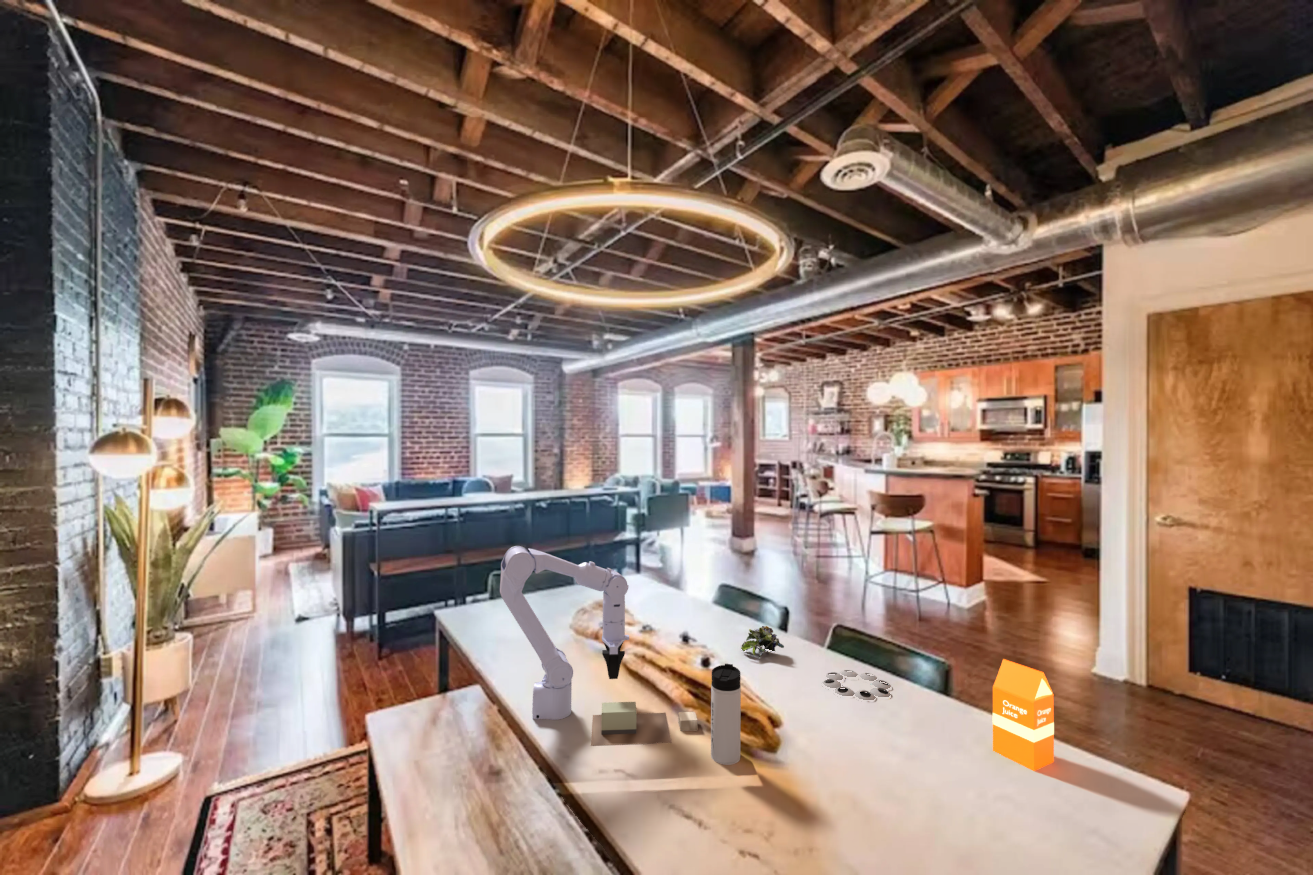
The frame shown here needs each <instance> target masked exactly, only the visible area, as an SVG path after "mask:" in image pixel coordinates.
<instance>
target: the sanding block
mask: <svg viewBox="0 0 1313 875" xmlns="http://www.w3.org/2000/svg"><path fill="white" fill-rule="evenodd" d="M636 714H637V702H636V701H615V702H614V701H612V702H610V701H609V702H601V715H602V728H601V735H608V734H636Z"/></svg>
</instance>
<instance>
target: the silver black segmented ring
mask: <svg viewBox="0 0 1313 875" xmlns="http://www.w3.org/2000/svg"><path fill="white" fill-rule="evenodd" d="M847 671H852V672H847ZM840 673H841V674H842V675H844V676H847V677H856V676H857V675H859V676H860V677H861V678H862V679H864V680H869V681H874V680H876V679H877V678H878V677H877V676H876V675H874V674H873V675H874V676H870V675H867V674H870V672H868V673H867V672H863V673H861V674H858V673H857V672H856V671H854V670H850V669H849V670H848V669H844V670H842V671H841V672H835V671H834V672H828V673H826V674H825V675H826V677H827V678H829V679H827V680H825V679H824V680H823V681H822V683H823V684H824V685H825V686H827V687H830V688H836V689H835V693H837V694H839V695H842V696H853V695H854V694H855V696H856V697H858V698H859V699H863V700H874V699H875V698H876V697H875V696H878V697H889V696H890V695H892V693H891V691H887V690H886V689H888V688H890V687H891V686H892V684H890V683H889V682H887V681H885V680H882V679H879V680H876V681H874V682H873V683H872V685H874V686H875V687H877V688H872V689H870V690H865V689H861V690H858V691H856V692H855V691H854V690H853V689H852V688H850V687H848V686H843V687H841V684H842V683H840V682H838V681H837V680H842V679H843V676H842V675H840ZM829 674H835V675H829ZM825 681H831V682H825ZM833 681H834V682H833ZM880 681H881V682H885V683H887V684H889V685H887V684H883V683H880ZM839 688H845V689H848V690H846V692H840V691H839V690H840V689H839ZM877 689H882V690H881V691H883V690H885V691H887V692H888V693H887V692H886V694H885V693H883V692H880V690H877ZM869 691H870V692H869ZM885 691H884V692H885ZM860 692H867V693H870V694H871V695H870V694H869V695H870V696H869V697H866V696H863V695H862V694H861V693H860ZM890 693H891V694H890ZM874 695H875V696H874ZM876 699H877V698H876Z"/></svg>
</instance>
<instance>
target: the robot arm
mask: <svg viewBox="0 0 1313 875" xmlns="http://www.w3.org/2000/svg"><path fill="white" fill-rule="evenodd" d="M528 550H529V551H528ZM533 571H534V573H535V574H539V573H540V572H541V573H542V572H543V571H549V572H550V571H551V572H554V573H557V574H561V575H564V576H567V577H568V576H569V577H571V578H574V581H575V582H576V584H577V585H579V586H582V587H585V588H589V589H592V590H595V591H597V592H603V593H602V595H603V597H602V598H603V599H602V636H601V641H602V642H603V644H604V647H605V649H603V650H602V651H601V652H602V653H601V654H602V656H603V658H604V662H605V664H606V668H607V670H606V671H607V675H608V679H609V680H617V679H618V678H619V676H620V674H619V673H620V668H621V664H622V661H623V659H624V657H625V654H626V651H625V650H621V649H622V646H623V644H624V642H625V641H629V640H630V635H629V634H626V633H625V632H626V630H625V629H626V628H625V626H626V598H625V596H626V595H627V592H628V591H629V585H628V581H627V579H626V578H625V576H623V575H622V574H621V573H619V572H618V571H616V570H614V569H612V568H610V567H606V568H603V567H601V566H597V565H596V563H595V562H593V561H592V560H591V561H588V562H586V561H585V562H581V563H580V564H576V563H574V562H572V561H568V560H565V559H562V558H560V557H557V556H554V555H552V554H550V553H546V552H544V551H541V550H537V549H535V548H530V547H529V548H525V547H523V545H521V546H520V545H515V546H511V547H510V548H508V550H507V551H506V552H505V554H504V555H503V559H502V560H501V563H500V583H499V594H500V596H501V599H502V600H503V602H504V603H505V605H506V607H507V608H508V609H509V611H510V613H511V614H512V617H513V618H514V619H515V621H516V623H517V624H518V626H519V628H520V629H521V630H522V632H523V634H524V636H525V638H526V639H527V640H528V642H529V644H530V645H531V647H532V648H533V650H534V652H535V653H536V655H537V657H538V658H539V660H540V662H541V667H542V670H543V671H544V673H545V674H544V676H543V678H542V679H541V681H538V682H534V684H533V689H532V711H531V714H532V720H553V721H554V720H555V721H557V720H562V719H565V718H567V717H569V716H570V715H571V714H572V683H573V682H572V681H573V680H572V679H573V677H574V669H573V666H572V665H571V663H570V662H569V661H568V659H567V655H566V654H565V652H564V651H563V650H561V649H559V648H558V647H556V645H555V644H554V642H553V641H552V639H551V638H550V635H549V634H548V633H547V631H546V629H545V628H544V626H543V624H542V623H541V621H540V620H539V617H538V616H537V614H536V613H535V611H534V609H533V608H532V607H531V605H530V603H529V602H528V600H527V599H526V597H525V595H524V593H523V592H522V591H523V589H524V587H525V584H526V581H527V580H528V578H530V576H532V574H533Z"/></svg>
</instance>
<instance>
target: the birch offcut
mask: <svg viewBox="0 0 1313 875" xmlns="http://www.w3.org/2000/svg"><path fill="white" fill-rule="evenodd" d="M677 713H678V718H677V719H678V720H677V722H678V727H679V730H680V732H687V731H693V732H694V731H695V732H696V731H698V718H697V714H696V711H681V712H680V711H679V712H677Z"/></svg>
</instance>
